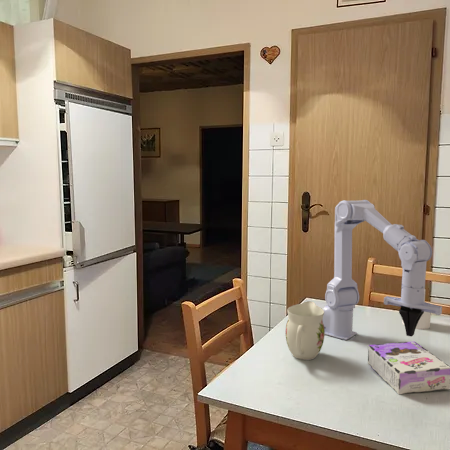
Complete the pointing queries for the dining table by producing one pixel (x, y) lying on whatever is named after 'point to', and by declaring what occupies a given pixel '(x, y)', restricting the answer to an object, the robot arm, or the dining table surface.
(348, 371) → the dining table surface
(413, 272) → the robot arm
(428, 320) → the base with upright slab
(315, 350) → the pitcher
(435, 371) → the candy box
